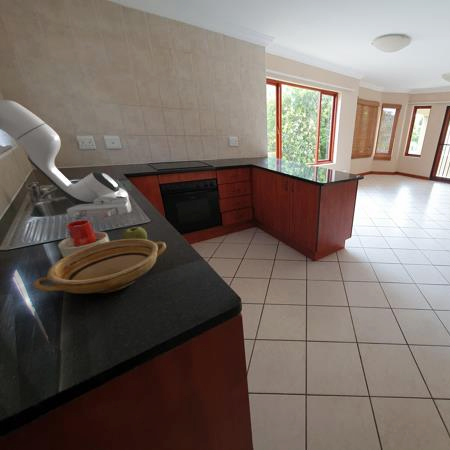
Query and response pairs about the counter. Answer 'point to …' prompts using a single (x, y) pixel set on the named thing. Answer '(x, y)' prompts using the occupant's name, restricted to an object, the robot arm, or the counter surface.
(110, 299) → the counter surface
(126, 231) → the apple
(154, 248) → the wicker basket
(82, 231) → the fries cup
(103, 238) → the serving bowl
